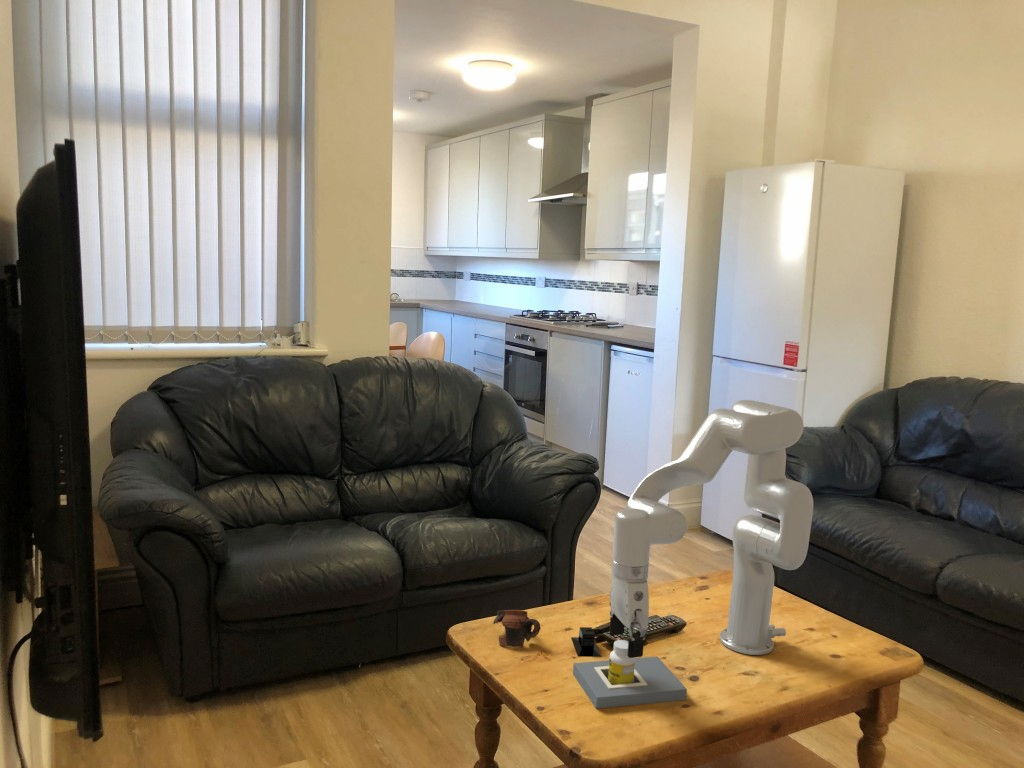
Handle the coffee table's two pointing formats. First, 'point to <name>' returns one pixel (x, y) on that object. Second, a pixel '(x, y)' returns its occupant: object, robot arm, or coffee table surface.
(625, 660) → the supplement bottle
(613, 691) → the board
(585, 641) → the black stand
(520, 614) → the pottery mug
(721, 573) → the coffee table surface
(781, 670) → the coffee table surface
